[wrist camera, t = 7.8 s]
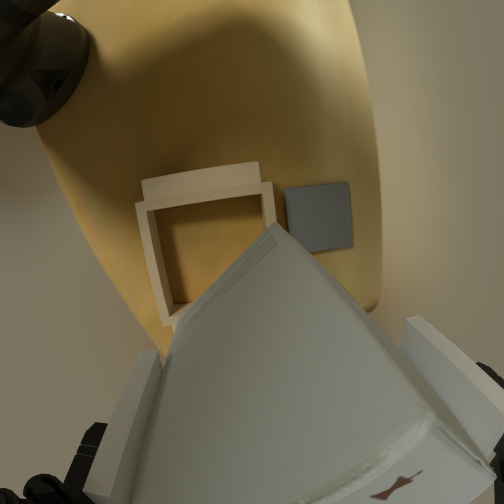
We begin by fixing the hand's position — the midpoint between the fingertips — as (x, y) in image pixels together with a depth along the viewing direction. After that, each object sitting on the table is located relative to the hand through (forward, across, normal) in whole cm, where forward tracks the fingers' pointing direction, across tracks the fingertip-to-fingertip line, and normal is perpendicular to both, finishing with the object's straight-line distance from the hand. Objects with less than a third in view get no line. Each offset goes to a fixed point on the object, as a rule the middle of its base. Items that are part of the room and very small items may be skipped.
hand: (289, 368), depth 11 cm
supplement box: (+5, 0, 0) cm, 5 cm away
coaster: (+21, +7, +2) cm, 22 cm away
